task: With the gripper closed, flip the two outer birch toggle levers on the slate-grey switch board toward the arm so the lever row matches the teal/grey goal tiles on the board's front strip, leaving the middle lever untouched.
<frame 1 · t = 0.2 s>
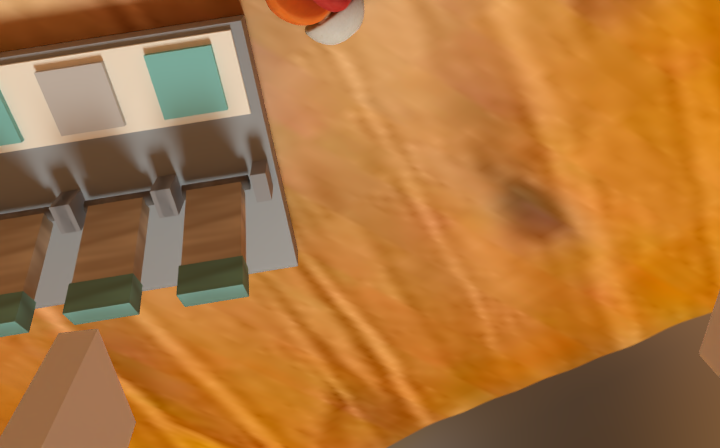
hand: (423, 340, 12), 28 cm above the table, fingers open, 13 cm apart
switch board: (126, 170, 39), on the table
lever c: (215, 234, 34), point 7 cm above the table, hinge at 22.1°
lever b: (112, 251, 34), point 7 cm above the table, hinge at 22.1°
lever a: (8, 267, 34), point 7 cm above the table, hinge at 22.1°
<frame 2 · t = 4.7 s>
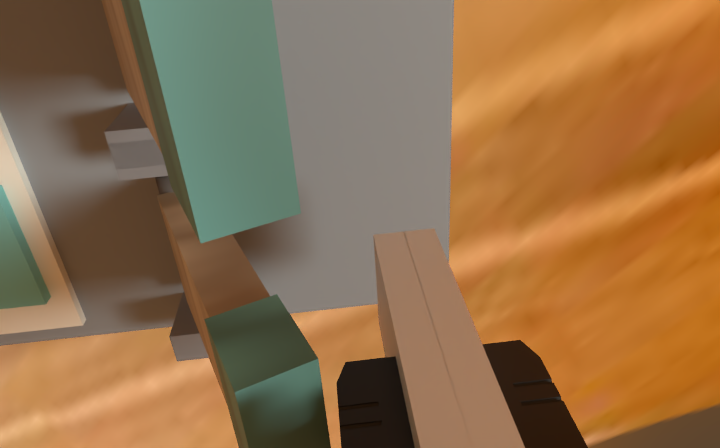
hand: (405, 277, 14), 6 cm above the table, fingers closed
lever b: (158, 30, 10), point 7 cm above the table, hinge at 22.1°
lever a: (226, 312, 13), point 7 cm above the table, hinge at 21.7°, touching gripper
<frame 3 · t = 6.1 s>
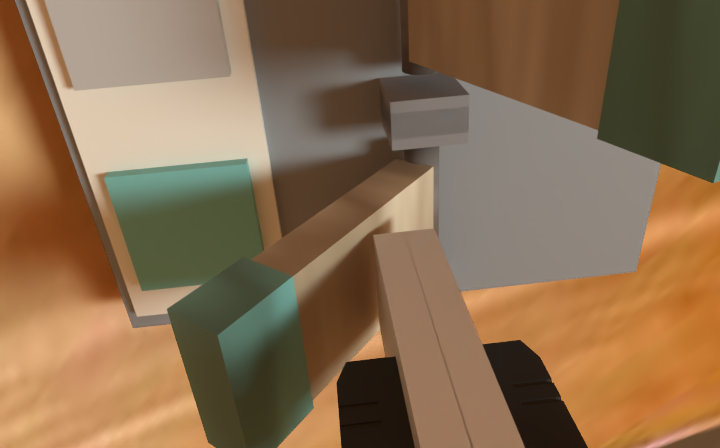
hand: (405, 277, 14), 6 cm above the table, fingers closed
lever a: (345, 279, 14), point 6 cm above the table, hinge at -40.5°, touching gripper
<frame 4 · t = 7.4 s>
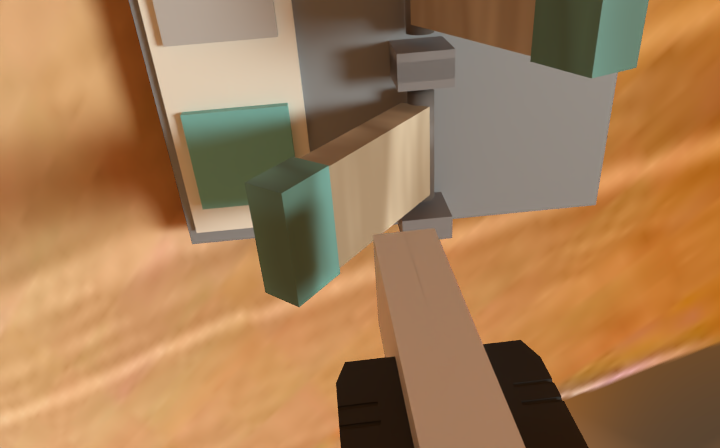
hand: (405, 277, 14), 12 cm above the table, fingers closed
lever a: (362, 186, 19), point 6 cm above the table, hinge at -40.2°
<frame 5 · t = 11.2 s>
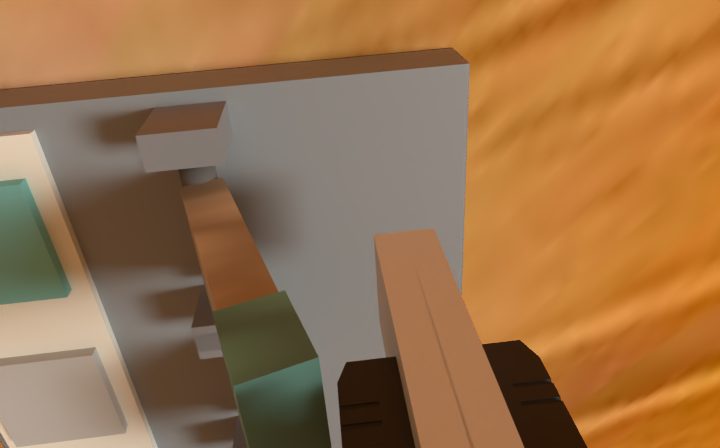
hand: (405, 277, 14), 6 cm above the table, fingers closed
switch board: (229, 332, 22), on the table
lever c: (239, 306, 13), point 7 cm above the table, hinge at 16.8°, touching gripper
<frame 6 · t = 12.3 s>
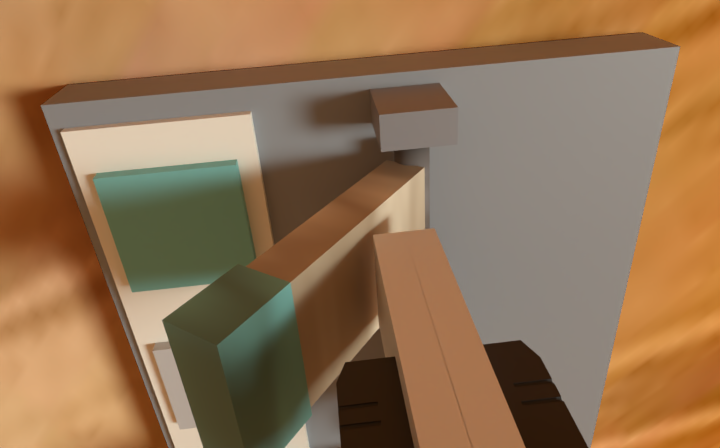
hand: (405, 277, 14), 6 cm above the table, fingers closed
switch board: (378, 318, 22), on the table
lever c: (339, 283, 14), point 6 cm above the table, hinge at -37.8°
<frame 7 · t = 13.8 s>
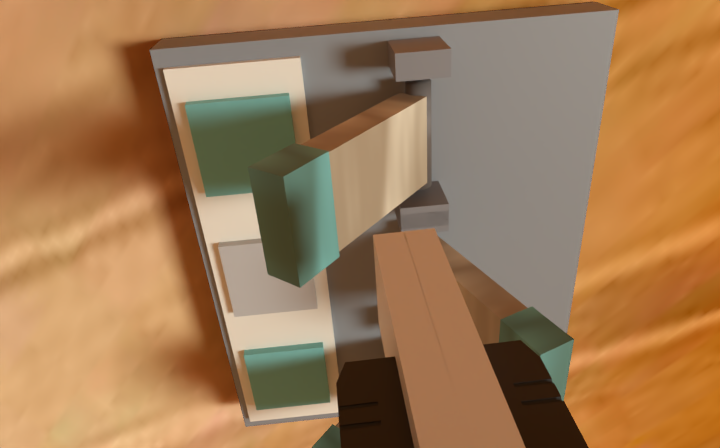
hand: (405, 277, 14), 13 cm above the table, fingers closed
switch board: (391, 236, 28), on the table
lever c: (361, 172, 19), point 6 cm above the table, hinge at -40.2°
lever b: (472, 315, 22), point 7 cm above the table, hinge at 22.1°
lever a: (379, 422, 26), point 6 cm above the table, hinge at -40.2°
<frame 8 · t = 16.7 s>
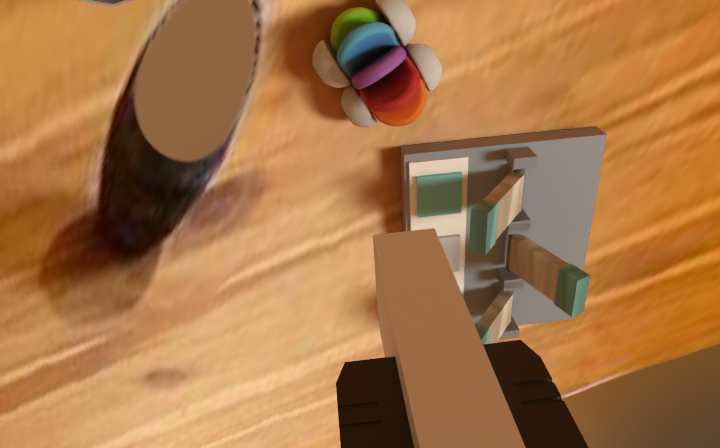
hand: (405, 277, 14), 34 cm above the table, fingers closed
switch board: (492, 234, 55), on the table
rainbow disc wheeled toy: (374, 58, 45), on the table
lever c: (500, 208, 46), point 6 cm above the table, hinge at -40.2°
lever b: (542, 270, 49), point 7 cm above the table, hinge at 22.1°
lever a: (491, 326, 53), point 6 cm above the table, hinge at -40.2°
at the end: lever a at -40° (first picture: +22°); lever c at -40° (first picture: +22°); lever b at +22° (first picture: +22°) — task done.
